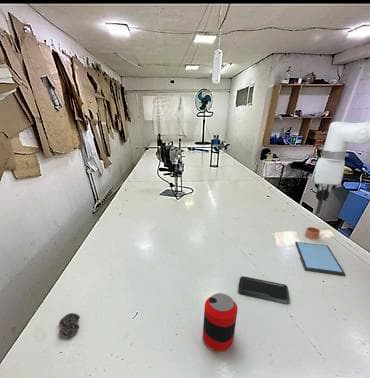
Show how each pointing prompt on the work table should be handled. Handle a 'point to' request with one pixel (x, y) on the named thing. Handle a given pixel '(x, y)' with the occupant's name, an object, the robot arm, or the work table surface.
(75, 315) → the corroded twin loop
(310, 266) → the tablet
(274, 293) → the phone
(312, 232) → the pen cup
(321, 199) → the stylus
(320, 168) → the robot arm
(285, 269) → the work table surface
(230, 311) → the soda can
